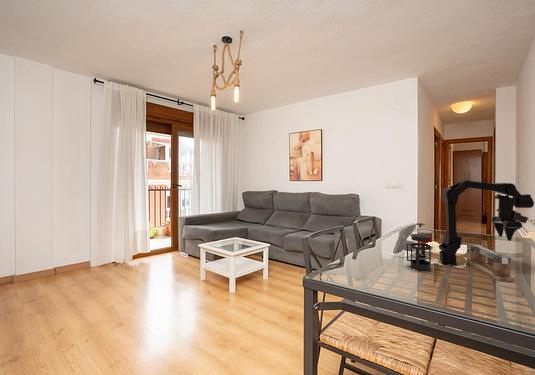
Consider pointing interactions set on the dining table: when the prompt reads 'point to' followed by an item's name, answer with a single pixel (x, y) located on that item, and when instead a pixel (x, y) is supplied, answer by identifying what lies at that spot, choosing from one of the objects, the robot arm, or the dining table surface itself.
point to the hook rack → (497, 271)
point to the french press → (420, 252)
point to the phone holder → (404, 238)
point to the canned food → (426, 234)
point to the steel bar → (490, 254)
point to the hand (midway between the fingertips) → (504, 238)
